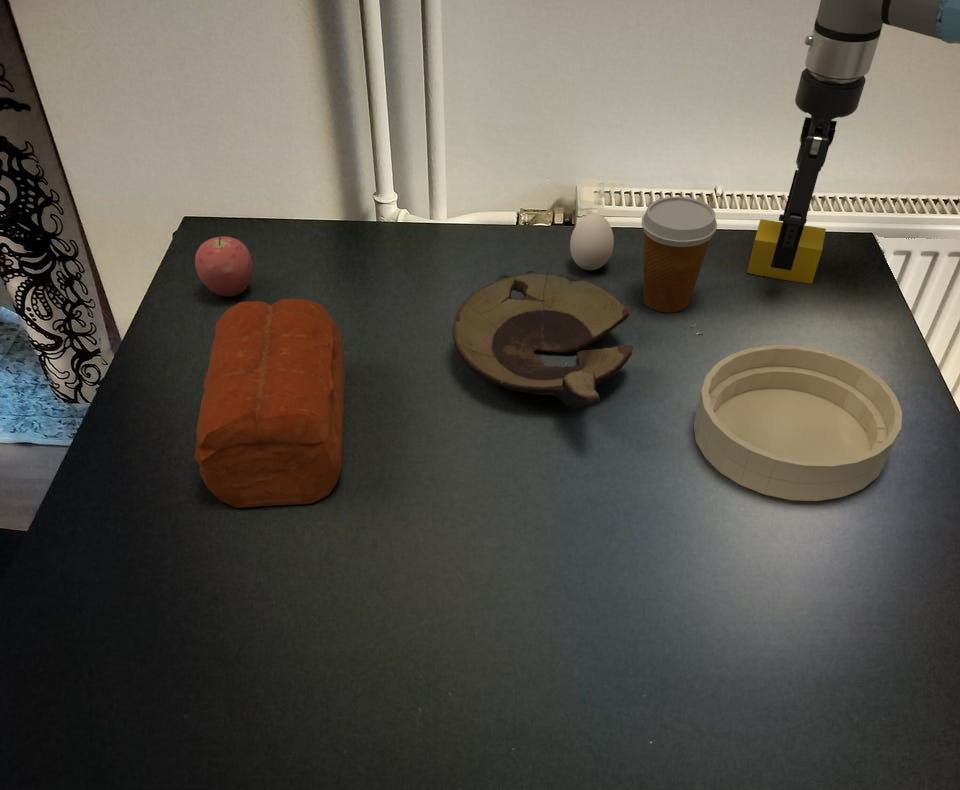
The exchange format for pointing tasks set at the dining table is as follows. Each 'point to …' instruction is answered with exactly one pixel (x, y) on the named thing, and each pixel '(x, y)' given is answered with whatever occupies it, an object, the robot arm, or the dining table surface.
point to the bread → (273, 405)
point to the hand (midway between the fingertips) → (786, 242)
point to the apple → (224, 265)
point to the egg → (592, 242)
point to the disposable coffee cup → (674, 250)
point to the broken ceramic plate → (541, 335)
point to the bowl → (796, 422)
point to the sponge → (804, 257)
